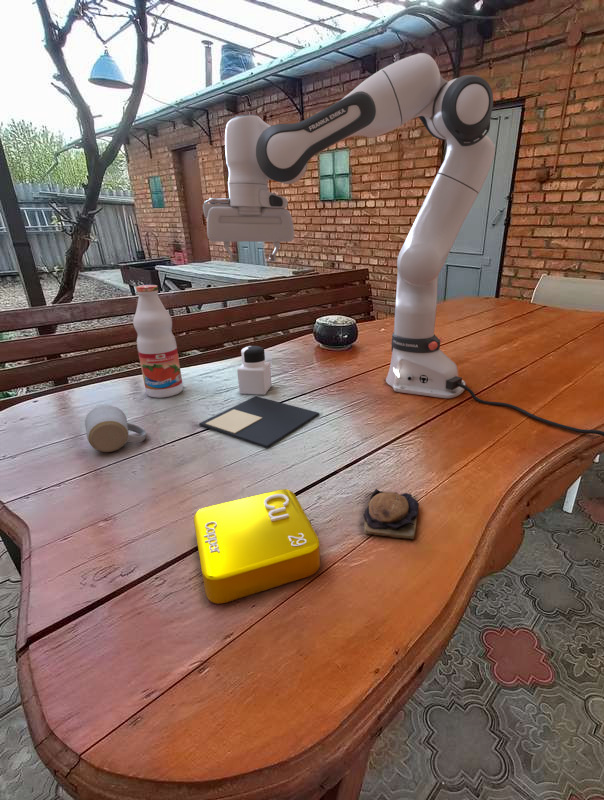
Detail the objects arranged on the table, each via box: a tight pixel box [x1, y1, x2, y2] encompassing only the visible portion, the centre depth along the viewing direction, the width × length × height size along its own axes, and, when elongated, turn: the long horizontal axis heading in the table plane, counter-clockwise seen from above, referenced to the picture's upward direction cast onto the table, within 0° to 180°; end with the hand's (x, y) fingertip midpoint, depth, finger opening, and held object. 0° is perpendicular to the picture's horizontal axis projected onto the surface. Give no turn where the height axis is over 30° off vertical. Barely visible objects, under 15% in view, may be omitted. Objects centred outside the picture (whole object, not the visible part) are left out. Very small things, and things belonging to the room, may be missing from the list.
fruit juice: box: [132, 284, 184, 399], centre depth 110 cm, size 9×9×28 cm
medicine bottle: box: [236, 345, 273, 396], centre depth 114 cm, size 7×7×12 cm
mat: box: [198, 395, 320, 449], centre depth 99 cm, size 20×19×1 cm
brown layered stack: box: [362, 488, 419, 540], centre depth 67 cm, size 11×8×4 cm
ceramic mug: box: [84, 404, 147, 453], centre depth 87 cm, size 11×8×8 cm
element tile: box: [193, 488, 321, 604], centre depth 59 cm, size 15×15×5 cm
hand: (253, 261), depth 104 cm, fingers open, 8 cm apart
